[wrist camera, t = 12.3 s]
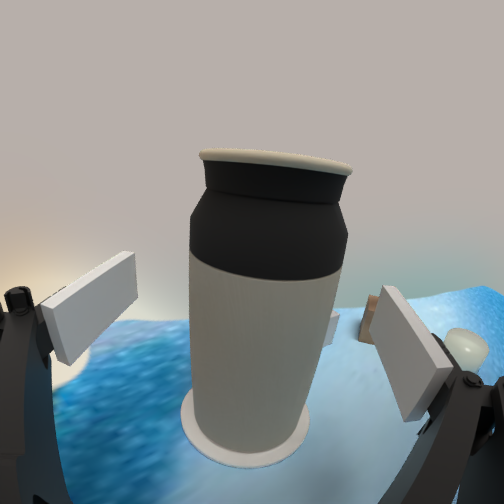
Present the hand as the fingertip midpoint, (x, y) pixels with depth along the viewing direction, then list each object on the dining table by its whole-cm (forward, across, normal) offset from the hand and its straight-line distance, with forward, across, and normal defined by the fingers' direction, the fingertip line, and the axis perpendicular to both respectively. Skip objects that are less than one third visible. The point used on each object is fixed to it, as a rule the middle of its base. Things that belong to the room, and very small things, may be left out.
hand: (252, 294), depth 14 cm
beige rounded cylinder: (+9, +25, -12) cm, 29 cm away
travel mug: (+2, 0, -11) cm, 12 cm away
